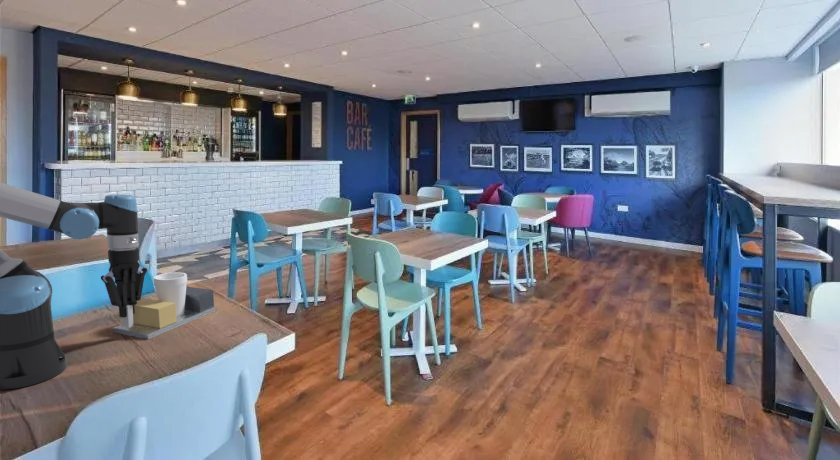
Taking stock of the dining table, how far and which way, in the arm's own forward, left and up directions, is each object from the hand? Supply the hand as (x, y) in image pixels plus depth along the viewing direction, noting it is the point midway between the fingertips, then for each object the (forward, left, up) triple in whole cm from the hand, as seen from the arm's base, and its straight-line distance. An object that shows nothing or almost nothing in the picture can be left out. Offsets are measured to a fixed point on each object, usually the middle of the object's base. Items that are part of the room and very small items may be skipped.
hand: (127, 326), depth 131 cm
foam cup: (+15, 0, -2) cm, 15 cm away
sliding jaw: (+8, -1, -1) cm, 8 cm away
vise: (+13, -1, -3) cm, 14 cm away
